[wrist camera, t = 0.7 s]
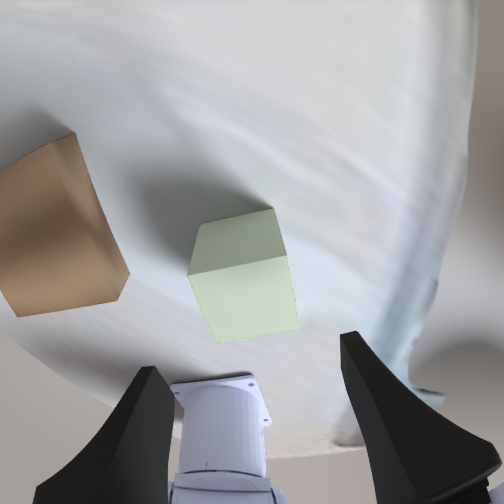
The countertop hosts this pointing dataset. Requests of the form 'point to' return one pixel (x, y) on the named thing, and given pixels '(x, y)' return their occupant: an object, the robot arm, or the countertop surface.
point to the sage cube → (243, 277)
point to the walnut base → (55, 234)
